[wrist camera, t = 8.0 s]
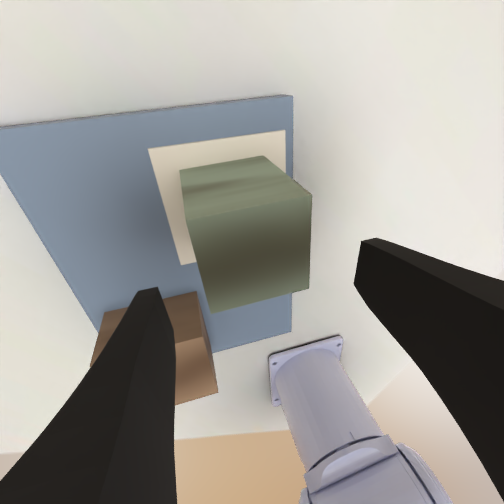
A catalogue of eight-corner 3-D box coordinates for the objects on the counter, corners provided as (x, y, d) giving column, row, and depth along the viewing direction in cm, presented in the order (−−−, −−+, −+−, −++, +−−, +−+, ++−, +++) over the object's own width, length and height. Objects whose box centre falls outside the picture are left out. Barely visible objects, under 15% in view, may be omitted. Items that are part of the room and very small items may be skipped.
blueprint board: (286, 321, 24) (292, 333, 23) (127, 363, 22) (125, 379, 21) (284, 94, 14) (294, 96, 13) (-10, 127, 12) (-28, 133, 11)
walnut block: (210, 345, 22) (218, 392, 18) (134, 366, 21) (128, 419, 17) (196, 290, 18) (202, 336, 15) (104, 312, 17) (89, 366, 14)
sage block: (268, 228, 17) (308, 288, 12) (197, 243, 16) (210, 314, 11) (263, 155, 14) (311, 194, 10) (179, 169, 14) (185, 220, 9)
